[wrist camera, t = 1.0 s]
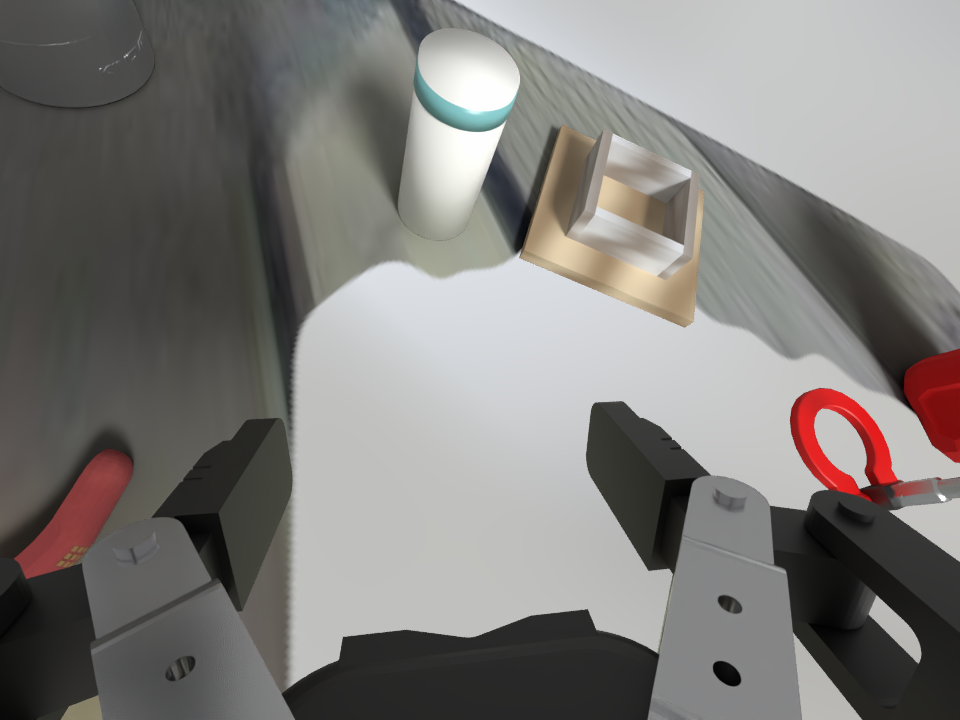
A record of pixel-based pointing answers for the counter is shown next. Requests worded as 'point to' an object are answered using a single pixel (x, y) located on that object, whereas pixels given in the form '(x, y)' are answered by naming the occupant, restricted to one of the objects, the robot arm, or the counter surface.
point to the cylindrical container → (453, 129)
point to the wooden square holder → (619, 223)
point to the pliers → (79, 515)
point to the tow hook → (878, 457)
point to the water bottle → (937, 400)
